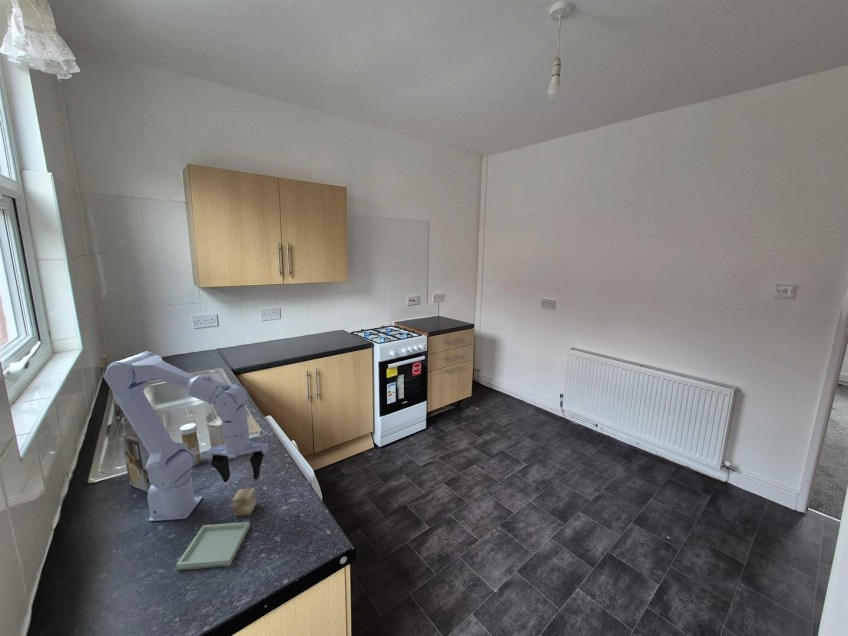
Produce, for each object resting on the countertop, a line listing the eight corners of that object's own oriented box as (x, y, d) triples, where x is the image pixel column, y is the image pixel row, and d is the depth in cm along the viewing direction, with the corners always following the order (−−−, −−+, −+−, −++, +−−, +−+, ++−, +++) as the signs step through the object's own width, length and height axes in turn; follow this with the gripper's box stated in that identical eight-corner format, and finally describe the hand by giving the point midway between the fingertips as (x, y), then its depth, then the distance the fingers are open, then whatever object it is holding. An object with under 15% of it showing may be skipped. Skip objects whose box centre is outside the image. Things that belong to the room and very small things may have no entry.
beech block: (234, 516, 92) (232, 499, 91) (240, 505, 96) (239, 489, 95) (250, 515, 92) (248, 498, 91) (255, 504, 96) (254, 488, 95)
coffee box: (170, 479, 107) (162, 432, 104) (147, 492, 101) (138, 442, 98) (151, 472, 110) (143, 426, 107) (127, 485, 104) (119, 436, 101)
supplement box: (229, 446, 125) (225, 412, 123) (241, 447, 124) (237, 413, 122) (211, 459, 117) (206, 423, 115) (223, 460, 116) (219, 425, 114)
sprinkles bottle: (201, 464, 114) (196, 427, 112) (184, 469, 112) (179, 430, 109) (201, 457, 118) (196, 421, 116) (185, 462, 116) (179, 425, 113)
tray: (176, 570, 76) (176, 564, 76) (203, 530, 87) (202, 525, 87) (230, 565, 77) (229, 560, 77) (249, 527, 88) (249, 521, 88)
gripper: (198, 442, 85) (205, 491, 88) (259, 437, 87) (265, 485, 89) (212, 428, 92) (218, 473, 95) (268, 424, 94) (273, 469, 96)
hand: (242, 478), depth 92 cm, fingers open, 7 cm apart
